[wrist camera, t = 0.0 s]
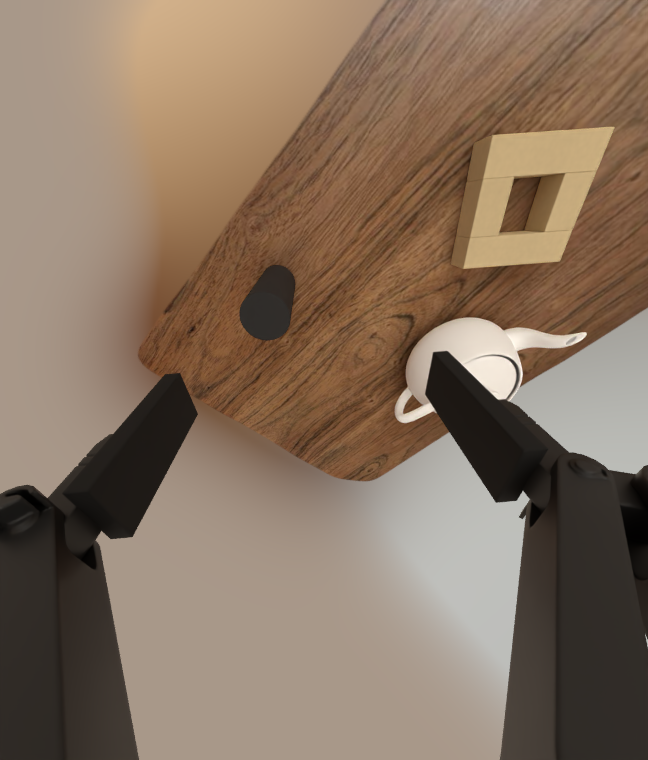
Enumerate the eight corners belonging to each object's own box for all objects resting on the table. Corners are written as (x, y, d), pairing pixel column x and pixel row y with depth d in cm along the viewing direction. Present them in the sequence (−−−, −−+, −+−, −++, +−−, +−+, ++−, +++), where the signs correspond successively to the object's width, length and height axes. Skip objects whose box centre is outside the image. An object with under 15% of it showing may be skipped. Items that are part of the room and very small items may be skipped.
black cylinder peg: (258, 266, 29) (233, 294, 19) (293, 263, 29) (286, 289, 19) (264, 301, 32) (245, 342, 22) (297, 298, 32) (293, 338, 22)
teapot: (403, 417, 44) (429, 470, 35) (362, 361, 37) (380, 409, 28) (538, 345, 37) (612, 387, 28) (517, 264, 31) (603, 285, 22)
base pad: (473, 142, 25) (492, 134, 22) (583, 135, 25) (615, 126, 22) (450, 264, 30) (463, 269, 28) (538, 257, 31) (559, 261, 28)
